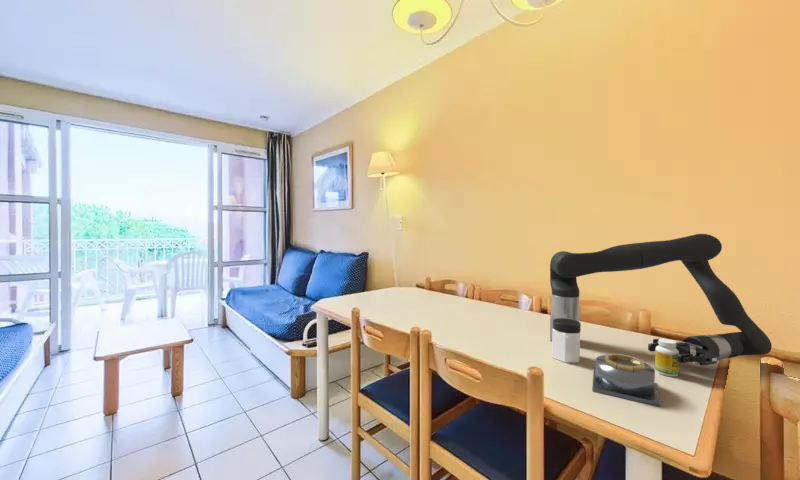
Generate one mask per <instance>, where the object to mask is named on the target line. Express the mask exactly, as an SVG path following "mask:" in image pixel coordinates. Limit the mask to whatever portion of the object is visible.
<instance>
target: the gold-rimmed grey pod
mask: <svg viewBox="0 0 800 480" xmlns="http://www.w3.org/2000/svg"><path fill="white" fill-rule="evenodd" d="M655 373H656V371H655V368H653V366H651V365H650V364H648V363H646V362H644V360H641V359H638V358H637V357H634V356H631V355H625V354H621V353H609V354H603V355H599V356H597V357H596V358H595V366H593V375H592V390H591V391H592V392H594V393H599V394H602V395H603V394H604V395H607V396H612V397H616V398H620V399H625V400H630V401H634V402H638V403H643V404H647V405H651V406H656V407H661V400H660V397H659V393H658V390H657V388H656V384H655V378H656V377H655Z"/></svg>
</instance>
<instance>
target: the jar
mask: <svg viewBox="0 0 800 480" xmlns="http://www.w3.org/2000/svg"><path fill="white" fill-rule="evenodd" d="M581 325H582V324H581V322H580V321H579V322H578V321H576V320H572V319H566V318H557V319H554V320H553V330H552V341H551V346H552V347H551V358H552V359H554V360H557V361H559V362H561V363H566V364H567V363H575V364H577V363H578V364H579V363H580V361H581V360H580V358H581V330H582V329H581V328H582V327H581Z"/></svg>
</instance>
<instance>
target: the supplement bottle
mask: <svg viewBox="0 0 800 480" xmlns="http://www.w3.org/2000/svg"><path fill="white" fill-rule="evenodd" d="M658 339H659V341H658V343H659V345H658V346H657V347H656V348H655V351H654V355H655V356H654V370H655V373H658V374H659V375H662V376H666V377H670V378H674V377H678V375H679V371H680V370H679V367H680V364H679V362H678V355H679V351H678V350H677V349H676V348H675V347H676V342H677V341H676V340H674V339H673V340H672V339H671V338H669V339H663V338H658ZM670 339H671V340H670Z"/></svg>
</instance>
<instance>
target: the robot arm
mask: <svg viewBox="0 0 800 480" xmlns="http://www.w3.org/2000/svg"><path fill="white" fill-rule="evenodd" d="M722 245H723V244H722V242H721V241H720V239H718V238H717V237H715V236H714V235H712V234H707V233H695V234H693V235H688V236H684V237H683V236H682V237H678V238H673V239H668V240H667V239H666V240H655V241H653V240H652V241H644V242H634V243H627V244H626V243H625V244H619V245H615V246H611V247H608V248H605V249H602V250H598V251H594V252H593V251H592V252H579V253H578V252H577V253H576V252H575V253H574V252H570V251H564V250H563V251H562V250H561V251H558V252H556V253H554V254H553V255H552V257H551V259H550V263H549V275H550V277H549V282H550V283H549V284H550V288H551V305H550V306H551V309H550V311H551V312H550V319H549V321H550V323H549V326H550V327H549V341H551V342H552V330H553V320H554V319H557V318H566V319H572V320H576V321H578V322H580V287H579V285H578V281H577V278H579V277H581V276H582V277H583V276H586V275H591V274H592V275H593V274H596V273H597V274H598V273H609V272H610V273H613V272H614V273H615V272H627V271H634V270H635V271H636V270H642V269H648V268H652V267H656V266H659V265H664V264H668V263H672V262H676V261H677V262H678V261H680V262H681V263H682V265H684V267H685V268H686V269H687V271H688V272H689V273H690V275H691V276H692V277H693V279H694V280H695V282H696V283H697V284H698V286H699V287H700V288H701V289H700V290H702V292H703V293H704V295H705V297H706V299H707V300H708V303H709V305H710V307H711V308H712V310H713V312H714V314H715V316H716V318H717V320H718V321H719V323H720V324H721V325H724V326H731V327H736V328H737V329H739V331H736V332H735V331H734V332H726V333H717V334H716V333H715V334H700V335H692V336H691V335H690V336H687V337H685V338H684V339H682V341H680V340H678V341H675V342H676V347H675V348H676V349H677V350H678V351H679V355H678V362H679V363H680V364H686V363H690V364H691V363H692V364H696V363H698V365H699V366H701V367H702V366H703V367H705V366H710V365H716V364H717V363H718V361H721V360H724V359H732V358H737V357H738V356H758V355H759V356H760V355H761V356H762V355H767V354H769V353H770V352H771V351H772V348H773V347H772V346H773V345H772V342H771V339H770V338H769V337H768V335H767V334H766V333H765V332H764V331H763V330H762V329H761V328H760V327H759V326H758V325H757V323H755V322H754V320H752V318H751V317H750V316H749V315H748V313H747V312H746V310H745V308H744V307H743V305H742V303H741V300H740V299H739V297H738V295H736V293H735V292H734V291H733V290H732V289H731V288H730V287H729V285H727V284H725V283H724V282H723V281H722V280H721V279H720V278H719V277H718V276H717V275H716V274H715V272H714V271H713V269H712V267H711V265H710V262H709V261H710V260H712V259H713V260H714V258H716V257H717V256H718V255H719V254H721V252H722V247H723V246H722ZM659 339H660V338H653V339H652V343H648V344H647V346H648V347H647V350H648V351H649V352H655V348H656V347H657V346H658V345H659V343H658V341H659ZM662 339H670V340H672V339H671V338H670V337H664V338H663V337H662Z"/></svg>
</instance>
